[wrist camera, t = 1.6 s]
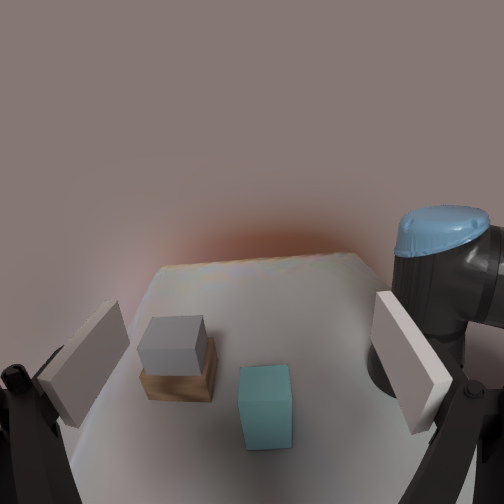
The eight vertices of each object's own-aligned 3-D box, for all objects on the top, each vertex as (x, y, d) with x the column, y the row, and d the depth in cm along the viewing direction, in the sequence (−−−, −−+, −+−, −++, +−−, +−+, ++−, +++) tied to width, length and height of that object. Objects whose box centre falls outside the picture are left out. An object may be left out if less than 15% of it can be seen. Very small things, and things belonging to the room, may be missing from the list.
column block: (288, 415, 33) (288, 364, 30) (291, 447, 28) (292, 398, 25) (248, 418, 33) (239, 367, 30) (246, 450, 28) (237, 401, 25)
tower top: (207, 340, 42) (202, 315, 41) (201, 375, 35) (194, 348, 34) (159, 342, 43) (152, 317, 41) (146, 375, 35) (136, 348, 34)
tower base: (217, 360, 45) (213, 337, 43) (211, 402, 36) (205, 379, 35) (163, 360, 45) (156, 338, 43) (148, 399, 37) (139, 377, 35)
